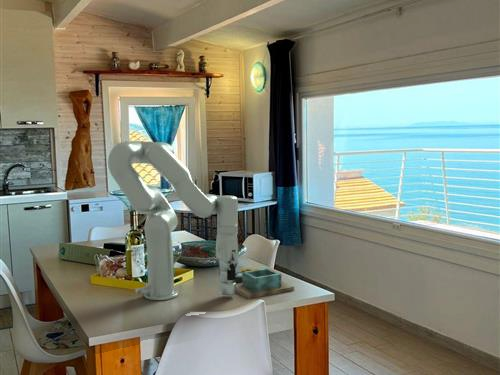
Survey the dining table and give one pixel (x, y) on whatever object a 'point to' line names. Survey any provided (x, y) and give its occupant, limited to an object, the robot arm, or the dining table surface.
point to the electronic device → (239, 274)
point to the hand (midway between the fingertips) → (227, 277)
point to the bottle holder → (261, 283)
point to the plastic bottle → (225, 279)
